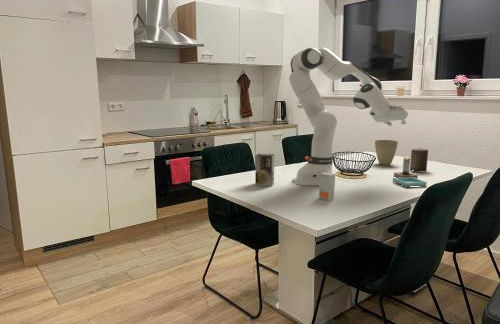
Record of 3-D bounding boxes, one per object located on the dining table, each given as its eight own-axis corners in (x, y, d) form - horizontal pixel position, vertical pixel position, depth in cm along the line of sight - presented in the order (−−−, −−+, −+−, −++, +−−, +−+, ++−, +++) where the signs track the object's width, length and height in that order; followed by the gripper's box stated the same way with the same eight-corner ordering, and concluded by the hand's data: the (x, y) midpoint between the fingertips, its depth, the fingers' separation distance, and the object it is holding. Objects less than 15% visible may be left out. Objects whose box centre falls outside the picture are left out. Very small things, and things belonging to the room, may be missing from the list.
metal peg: (404, 179, 218) (406, 159, 216) (400, 178, 221) (402, 157, 219) (409, 179, 219) (411, 158, 217) (406, 178, 222) (407, 157, 220)
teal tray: (406, 187, 200) (406, 183, 200) (392, 182, 212) (393, 178, 211) (426, 186, 203) (426, 182, 202) (411, 181, 214) (412, 177, 214)
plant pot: (380, 161, 273) (382, 139, 270) (400, 164, 262) (402, 141, 259) (368, 164, 264) (370, 140, 261) (388, 167, 252) (390, 143, 249)
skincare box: (318, 198, 181) (319, 173, 178) (323, 196, 184) (324, 171, 181) (329, 200, 176) (330, 175, 174) (334, 199, 179) (335, 173, 177)
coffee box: (274, 183, 208) (274, 154, 205) (271, 186, 202) (272, 156, 199) (257, 182, 210) (258, 153, 207) (254, 185, 204) (255, 155, 201)
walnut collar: (403, 181, 215) (403, 175, 214) (393, 177, 223) (394, 172, 223) (417, 180, 217) (417, 175, 216) (407, 176, 225) (407, 171, 225)
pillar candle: (427, 172, 237) (429, 148, 234) (410, 171, 240) (412, 147, 237) (425, 170, 246) (427, 146, 243) (409, 168, 249) (411, 145, 246)
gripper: (401, 100, 200) (415, 118, 205) (371, 105, 218) (385, 121, 223) (396, 109, 198) (410, 127, 203) (366, 114, 216) (380, 130, 221)
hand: (397, 124), depth 213 cm, fingers open, 8 cm apart
